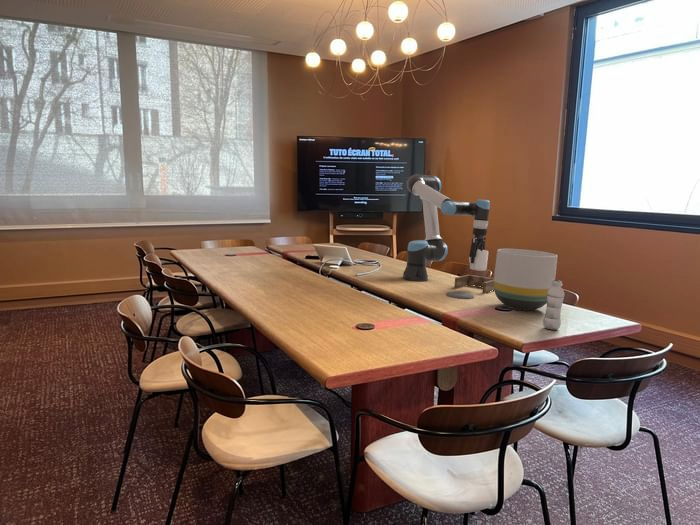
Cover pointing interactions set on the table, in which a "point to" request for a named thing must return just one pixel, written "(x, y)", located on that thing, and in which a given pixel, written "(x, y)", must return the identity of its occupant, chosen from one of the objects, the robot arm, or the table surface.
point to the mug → (481, 260)
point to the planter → (524, 277)
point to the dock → (475, 282)
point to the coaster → (460, 295)
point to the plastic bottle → (554, 306)
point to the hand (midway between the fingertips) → (475, 268)
